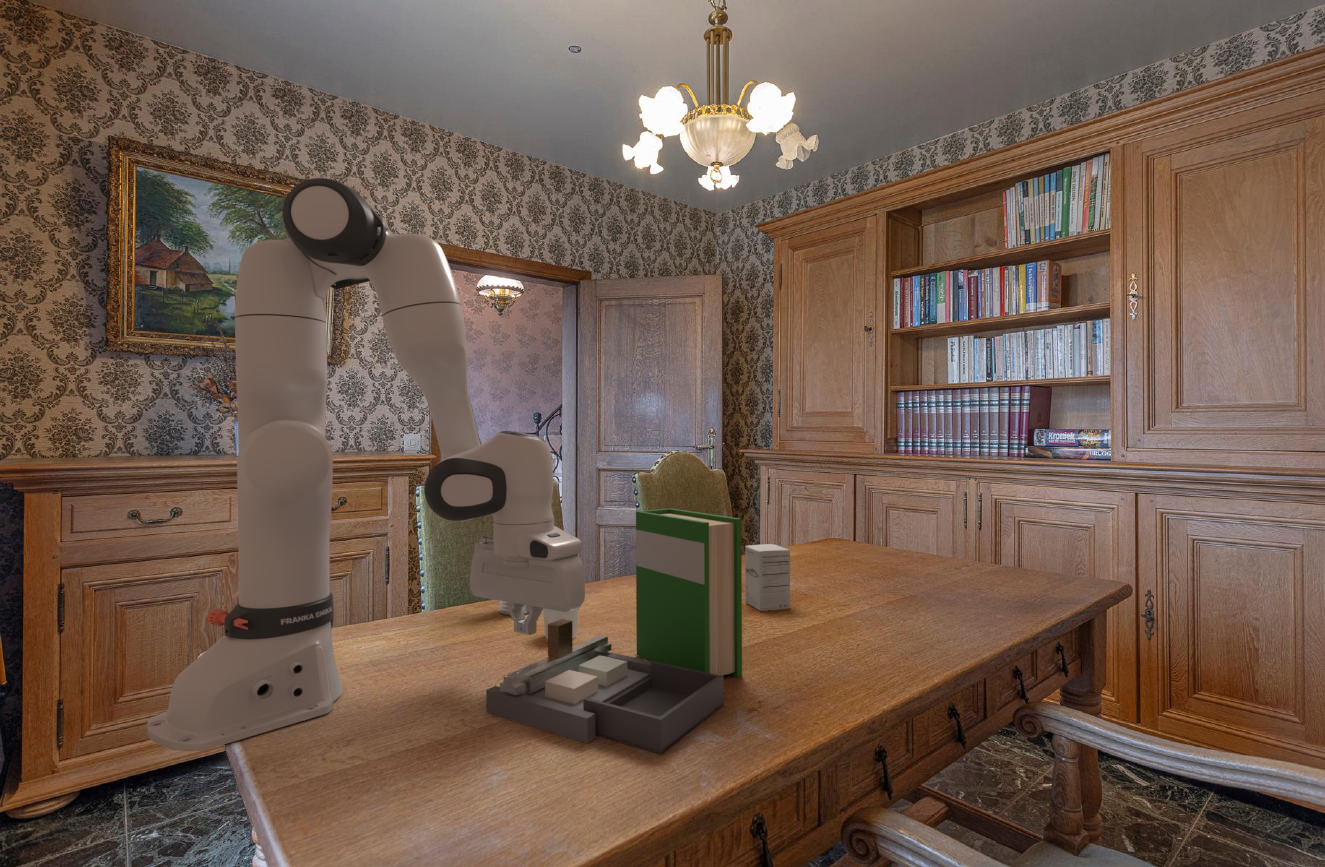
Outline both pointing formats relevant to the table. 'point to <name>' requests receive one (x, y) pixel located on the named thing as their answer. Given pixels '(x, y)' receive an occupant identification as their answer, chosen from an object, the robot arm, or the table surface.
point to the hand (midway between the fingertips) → (525, 632)
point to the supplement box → (767, 577)
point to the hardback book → (689, 590)
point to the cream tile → (571, 686)
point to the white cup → (557, 615)
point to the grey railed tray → (564, 703)
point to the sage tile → (605, 669)
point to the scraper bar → (554, 659)
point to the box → (658, 707)
